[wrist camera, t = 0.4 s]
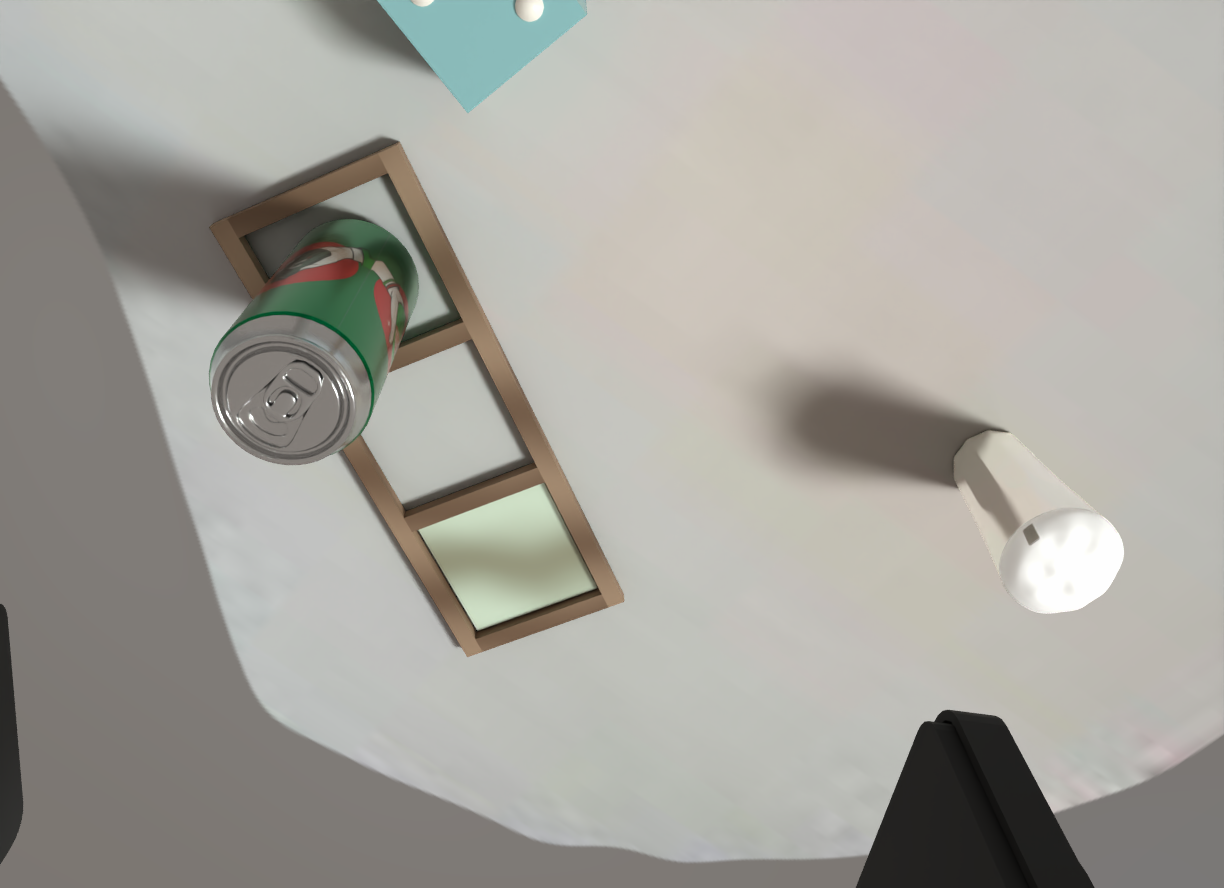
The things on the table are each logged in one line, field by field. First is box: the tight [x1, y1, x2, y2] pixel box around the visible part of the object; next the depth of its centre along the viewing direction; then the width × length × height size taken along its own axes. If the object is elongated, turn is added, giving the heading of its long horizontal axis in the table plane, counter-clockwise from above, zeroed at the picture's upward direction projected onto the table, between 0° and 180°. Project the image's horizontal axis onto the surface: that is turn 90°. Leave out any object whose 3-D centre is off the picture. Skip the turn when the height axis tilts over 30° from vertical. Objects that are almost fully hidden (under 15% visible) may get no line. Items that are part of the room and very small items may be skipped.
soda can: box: [209, 219, 419, 465], centre depth 37 cm, size 5×5×12 cm
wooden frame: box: [209, 142, 624, 657], centre depth 45 cm, size 23×8×1 cm, turn 22°
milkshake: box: [954, 430, 1124, 614], centre depth 43 cm, size 4×5×10 cm
